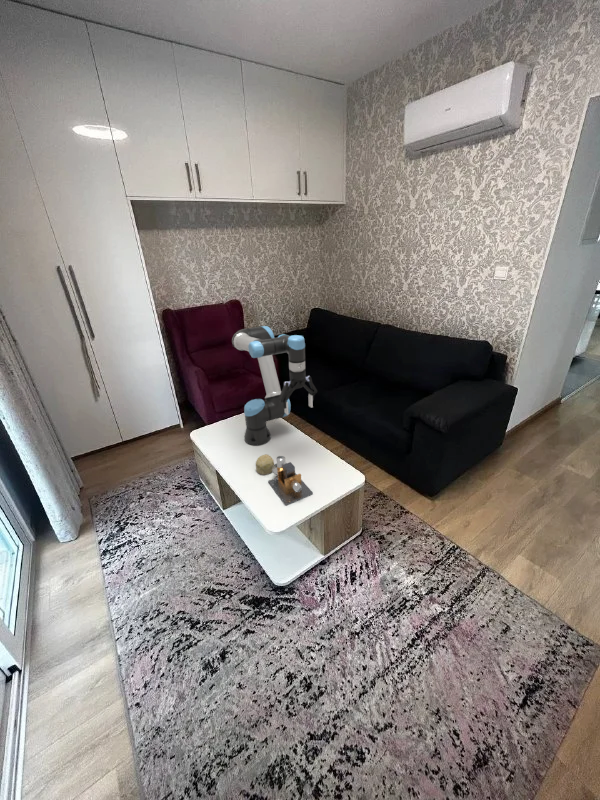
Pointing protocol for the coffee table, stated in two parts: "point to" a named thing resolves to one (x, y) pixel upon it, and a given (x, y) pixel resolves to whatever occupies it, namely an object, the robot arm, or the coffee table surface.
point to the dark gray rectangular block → (288, 470)
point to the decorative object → (264, 464)
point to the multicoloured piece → (288, 484)
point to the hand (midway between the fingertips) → (298, 410)
